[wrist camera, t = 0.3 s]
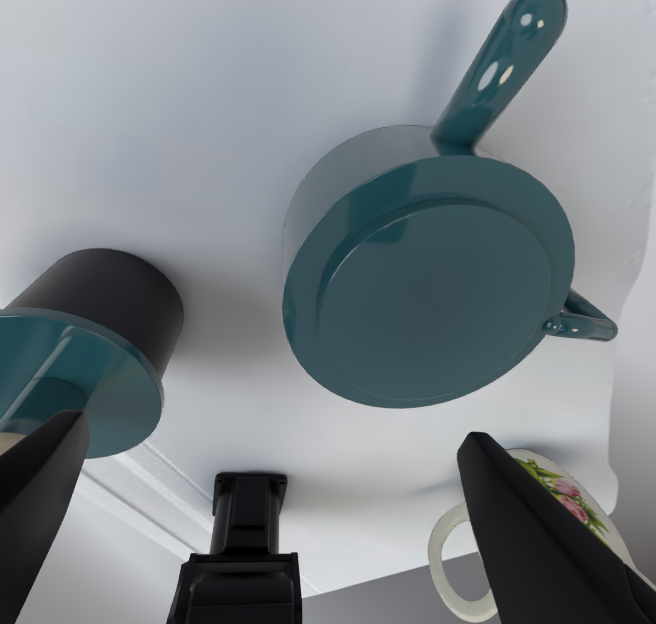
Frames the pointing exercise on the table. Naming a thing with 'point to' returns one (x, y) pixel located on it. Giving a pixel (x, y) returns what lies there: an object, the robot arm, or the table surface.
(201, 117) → the table surface
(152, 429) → the teapot lid
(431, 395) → the teapot
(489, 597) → the pitcher
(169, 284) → the tea tin
